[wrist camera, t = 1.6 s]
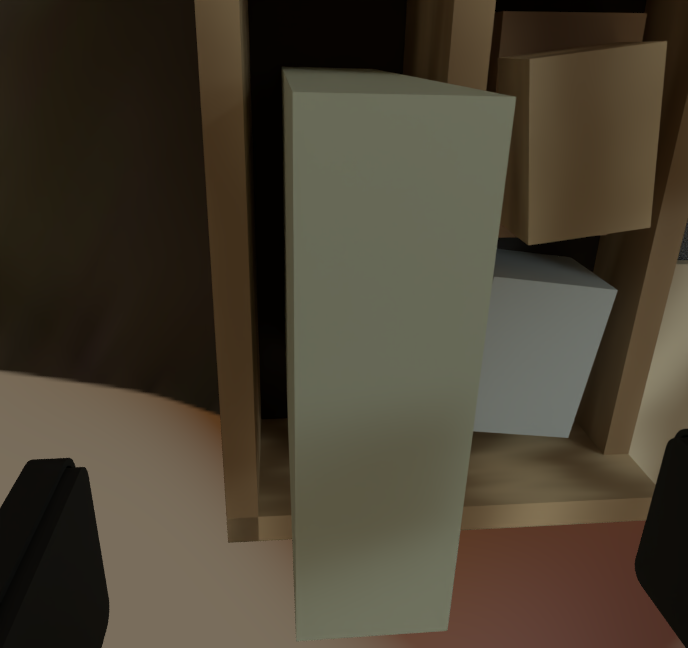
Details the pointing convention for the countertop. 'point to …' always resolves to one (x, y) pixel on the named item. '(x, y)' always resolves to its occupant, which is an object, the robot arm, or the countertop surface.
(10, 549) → the robot arm
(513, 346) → the offcut grey
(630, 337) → the oak rack
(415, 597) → the sage panel
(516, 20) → the offcut walnut
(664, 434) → the cork board
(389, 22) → the countertop surface
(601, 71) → the offcut pine
